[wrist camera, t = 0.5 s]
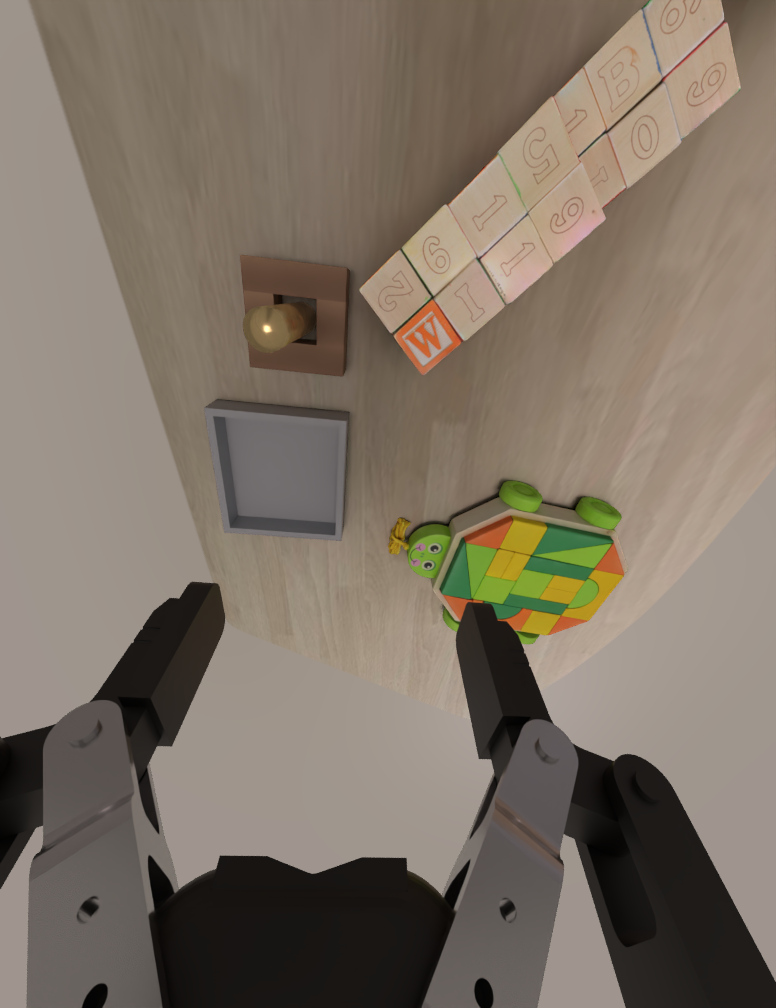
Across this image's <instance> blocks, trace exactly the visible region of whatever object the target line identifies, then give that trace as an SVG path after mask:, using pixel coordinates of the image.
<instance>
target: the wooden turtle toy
mask: <svg viewBox="0 0 776 1008" xmlns="http://www.w3.org/2000/svg"><path fill="white" fill-rule="evenodd" d="M499 496H500V497H498V498H496V499H493V500H491V501H489V502H487V503H485V504H483V505H481V506H478V507H476V508H474V509H472V510H470V511H468V512H465V513H463V514H461V515H459V516H457V517H455V518H453V519H452V520H451V522H450V525H449V527H447V526H444V525H439V524H432V525H427V526H423V527H421V528H419V529H418V530H416V531H415V532H414V533H413V534H412V535H411V536H410V538H409V540H408V542H403V541H404V540H405V530H406V528H407V527H408V526H409V525H410V524H411V523H410V522H407V521H406V520H405V519H404V518H398V521H397V524H396V525H395V526H394V527H393V529H392V532H391V536H390V538H389V539H390V543H389V545H388V548H389V552H390V554H397V555H398V554H399V552H400V549H401V545H403V548H404V549H405V550H407V554H408V562H409V565H410V567H411V568H412V570H413V571H414V572H416V573H417V574H419V575H421V576H423V577H426V578H431V582H432V588H433V591H434V592H435V594H436V595H437V596H438V598H439V599H440V600H441V602H442V603H443V605H444V606H445V609H444V611H443V619H444V621H445V623H446V624H447V626H448V627H450V628H451V629H452V630H454V631H456V632H457V630H458V627H459V624H460V621H461V618H462V615H463V612H464V609H465V606H466V604H467V603H468V602H476V603H490V604H492V606H493V608H494V610H495V613H496V616H497V619H498V621H507V622H508V623H509V625H510V626H511V627H512V628H513V629H514V631H515V632H516V633H517V634H518V636H519V639H520V641H521V643H523V644H533V643H534V642H535V641H536V639H537V638H538V637H539V635H540V634H541V635H551V634H554V633H556V632H559V631H562V630H565V629H567V628H570V627H573V626H576V625H578V624H581V623H584V622H587V621H589V620H590V619H591V617H592V616H593V615H594V614H595V612H596V611H597V610H598V608H599V607H600V606H601V605H602V603H603V602H604V601H605V600H606V598H607V597H608V596H609V594H610V593H611V592H612V591H613V589H614V588H615V587H616V586H617V584H618V583H619V582H620V580H621V579H622V578H623V577H624V574H625V573H626V571H627V570H628V567H627V564H626V561H625V557H624V554H623V551H622V548H621V545H620V542H619V539H618V536H617V533H616V531H615V530H614V528H615V527H616V526H617V524H618V523H619V522H620V520H621V518H622V517H621V514H620V513H619V512H618V511H617V510H616V509H615V508H614V507H612V506H611V505H609V504H607V503H605V502H603V501H601V500H598V499H596V498H592V497H583V498H581V500H580V501H579V503H578V505H577V506H576V509H575V511H574V510H570V509H565V508H560V507H556V506H551V505H547V504H542V503H541V502H542V500H543V498H542V496H541V494H540V493H539V492H538V491H537V490H536V489H534V488H533V487H531V486H529V485H527V484H525V483H522V482H518V481H506V482H504V483H503V485H502V487H501V489H500V491H499Z"/></svg>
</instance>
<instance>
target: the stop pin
mask: <svg viewBox="0 0 776 1008" xmlns="http://www.w3.org/2000/svg"><path fill="white" fill-rule="evenodd" d="M316 323H317V317H316V313H315V311H314V309H313V308H312V307H311V306H310V305H309V304H307V303H304V302H296V303H287V304H278V305H269V306H260V307H255V308H252V309H251V310H249V311H248V313H247V314H246V315H245V318H244V321H243V331H244V334H245V337H246V339H247V341H248V342H249V343H250V344H251V346H253V347H254V348H255V349H257V350H258V351H260V352H264V353H272V352H275V351H277V350H279V349H281V348H283V347H284V346H286V345H288V344H290V343H292V342H293V341H295V340H297V339H299V338H301V337H303V336H304V335H306V334H308V333H310V332H311V331H313V329H314V328H315V326H316Z"/></svg>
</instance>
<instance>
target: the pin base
mask: <svg viewBox="0 0 776 1008" xmlns="http://www.w3.org/2000/svg"><path fill="white" fill-rule="evenodd" d="M240 260H241V271H242V282H243V293H244V304H245V315H246V314H247V313H248V311H249V310H251V309H252V308H255V307H260V306H269V305H278V304H283V301H282V295H287V296H295V297H304V298H312V299H317V341H315V340H306V339H297V340H295V341H293V342H292V343H290V344H288V345H286V346H284V347H283V348H281V349H279V350H277V351H275V352H272V353H264V352H260V351H258V350H257V349H255V348H254V347H253V346H251V344H250V343H249V342H248V348H249V360H250V367H256V368H265V369H275V370H285V371H294V372H304V373H314V374H323V375H333V376H343V375H344V373H345V371H346V353H347V328H348V303H349V278H350V270H349V269H348V268H343V267H335V266H327V265H319V264H311V263H303V262H295V261H287V260H279V259H270V258H262V257H254V256H246V255H240Z"/></svg>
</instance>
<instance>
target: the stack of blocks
mask: <svg viewBox="0 0 776 1008" xmlns="http://www.w3.org/2000/svg"><path fill="white" fill-rule="evenodd" d="M740 89H741V87H740V81H739V76H738V72H737V67H736V62H735V58H734V53H733V48H732V42H731V37H730V32H729V27H728V23H726V22H724V12H723V7H722V2H721V0H649V1H648V3H647V4H646V5H645V6H644V7H643V8H642V9H639V10H638V11H637V12H636V13H635V14H634V15H633V16H632V17H631V18H630V19H629V20H628V21H627V22H626V23H625V24H624V25H623V26H622V27H621V28H620V29H619V30H618V31H617V33H616V34H615V35H614V36H613V37H612V38H611V39H610V40H609V41H608V42H607V43H606V44H605V45H604V46H603V47H602V48H601V49H600V50H599V51H598V52H597V53H596V54H595V55H594V56H593V57H592V58H591V59H590V60H589V61H588V62H587V63H586V64H585V65H584V66H583V67H582V68H581V69H580V70H579V71H578V72H577V73H576V74H575V75H574V76H573V77H572V78H571V79H570V80H569V81H568V82H567V83H566V84H565V85H564V86H563V87H562V88H561V89H560V90H559V91H558V92H557V93H556V95H555V96H554V97H553V96H551V97H550V98H549V99H548V100H547V101H546V102H545V103H544V104H543V105H542V106H541V107H540V108H539V109H538V110H537V111H536V112H535V113H534V114H533V115H532V116H531V117H530V118H529V120H528V121H527V122H526V123H525V124H524V125H523V126H522V127H521V128H520V129H519V130H518V131H517V132H516V133H515V134H514V135H513V136H512V137H511V138H510V139H509V140H508V141H507V142H506V143H505V144H504V146H503V147H502V148H501V149H500V150H499V151H498V152H497V153H496V154H495V156H494V157H493V158H492V159H491V160H490V162H489V163H488V164H487V165H486V166H485V167H484V168H483V169H482V170H481V171H480V172H479V174H478V175H477V176H476V177H475V178H474V179H473V180H472V181H471V182H470V183H469V184H468V185H467V186H466V187H465V188H464V189H463V190H462V191H461V192H460V193H459V194H458V195H457V196H456V197H455V198H454V199H453V200H452V201H451V202H450V203H449V204H444V205H443V206H442V207H441V208H440V209H439V210H438V211H437V212H436V213H435V214H434V215H433V216H432V217H431V218H430V219H429V220H428V221H427V222H426V223H425V224H424V225H423V227H422V228H421V229H420V230H419V231H418V232H417V233H416V234H415V235H414V236H412V237H411V238H410V239H409V240H408V241H407V242H406V243H405V244H404V246H403V247H402V248H401V249H400V250H398V251H397V252H396V253H395V254H394V255H393V256H392V257H391V258H390V259H389V260H388V261H387V262H386V263H385V264H384V265H383V266H382V267H381V268H379V269H378V270H377V271H376V272H375V273H374V274H373V275H372V276H371V277H370V278H369V279H368V280H367V281H366V282H365V283H364V284H363V285H362V286H361V288H360V289H359V291H360V292H361V294H362V295H363V296H364V298H365V299H366V300H367V302H368V303H369V304H370V306H371V307H372V309H373V310H374V311H375V313H376V314H377V315H378V317H379V318H380V320H381V321H382V322H383V324H384V325H385V326H386V328H387V329H388V330H389V332H390V333H392V334H393V336H394V338H395V339H396V341H397V342H398V344H399V345H400V346H401V348H402V349H403V350H404V352H405V353H406V354H407V356H408V357H409V358H410V360H411V361H412V362H413V364H414V365H415V366H416V368H417V369H418V370H419V372H420V373H421V374H422V375H425V374H426V373H427V372H428V371H429V370H431V369H432V368H433V367H434V366H435V365H436V364H438V363H439V362H440V361H441V360H442V359H443V358H445V357H446V356H447V355H448V354H449V353H451V352H452V351H453V350H454V349H455V348H456V347H458V346H459V345H460V344H461V342H463V341H466V340H468V339H469V338H470V337H471V336H472V335H473V334H474V333H476V332H477V331H478V330H479V329H480V328H481V327H482V326H483V325H485V324H486V323H487V322H488V321H489V320H490V319H492V318H493V317H494V316H495V315H496V314H497V313H498V312H499V311H500V310H502V309H503V308H504V306H505V305H506V304H510V303H512V302H513V301H514V300H515V299H516V298H518V297H519V296H520V295H521V294H522V293H523V292H524V291H525V290H527V289H528V288H529V287H530V286H531V285H532V284H533V283H535V282H536V281H537V280H538V279H539V278H540V277H541V276H543V275H544V274H545V273H546V272H547V271H548V270H549V269H550V268H551V267H552V266H553V264H554V263H556V262H557V261H559V260H560V259H561V258H562V257H564V256H565V255H566V254H567V253H568V252H569V251H570V250H572V249H573V248H574V247H575V246H576V245H577V244H578V243H580V242H581V241H582V240H583V239H584V238H585V237H586V236H588V235H589V234H590V233H591V232H592V231H593V230H594V229H596V228H597V227H598V226H599V225H600V224H601V223H603V222H604V221H605V219H606V217H605V215H604V213H603V210H602V208H604V207H605V206H606V205H607V204H608V203H610V202H611V201H612V200H613V199H614V198H615V197H617V196H618V195H619V194H620V193H621V192H622V191H624V190H626V189H628V188H630V187H631V186H632V185H633V184H634V183H636V182H637V181H638V180H639V179H640V178H642V177H643V176H644V175H645V174H646V173H648V172H649V171H650V170H651V169H652V168H653V167H655V166H656V165H657V164H658V163H659V162H660V161H662V160H663V159H664V158H665V157H666V156H667V155H668V154H670V153H671V152H672V151H673V150H674V149H675V148H677V147H678V146H679V145H680V143H681V141H682V139H683V138H685V137H686V136H687V135H688V134H690V133H691V132H692V131H693V130H694V129H696V128H697V127H698V126H699V125H700V124H701V123H703V122H704V121H705V120H706V119H707V118H708V117H710V116H711V115H712V114H713V113H714V112H715V111H717V110H718V109H719V108H720V107H721V106H722V105H724V104H725V103H726V102H727V101H728V100H729V99H731V98H732V97H733V96H734V95H735V94H737V93H738V92H739V91H740Z"/></svg>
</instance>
